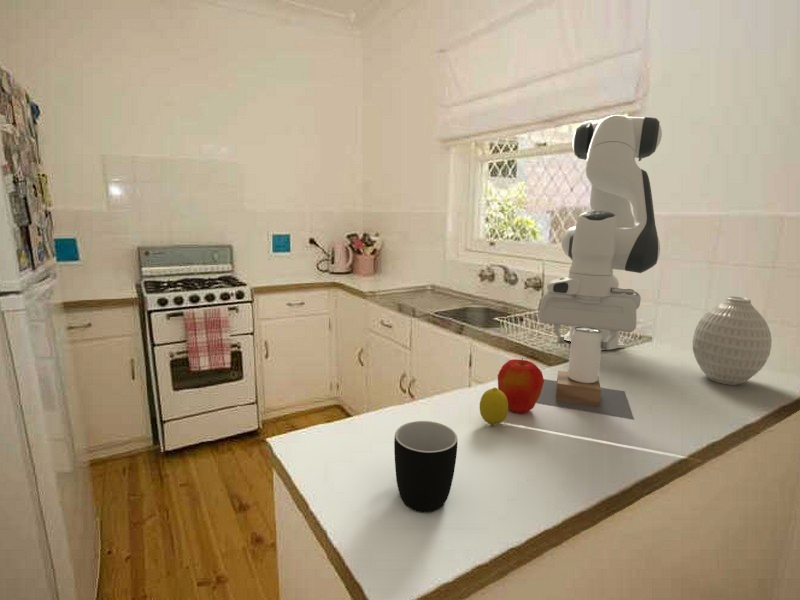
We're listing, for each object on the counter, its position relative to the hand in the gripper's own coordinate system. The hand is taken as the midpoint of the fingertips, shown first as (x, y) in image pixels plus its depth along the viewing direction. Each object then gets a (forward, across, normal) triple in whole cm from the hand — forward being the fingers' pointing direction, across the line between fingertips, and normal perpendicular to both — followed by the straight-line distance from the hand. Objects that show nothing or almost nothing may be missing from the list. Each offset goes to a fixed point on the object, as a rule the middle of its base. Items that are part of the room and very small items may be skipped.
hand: (582, 345), depth 99 cm
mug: (+13, +23, +48) cm, 55 cm away
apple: (+13, +12, +13) cm, 22 cm away
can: (+8, -1, -1) cm, 8 cm away
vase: (+13, -37, -29) cm, 49 cm away
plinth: (+12, 0, 0) cm, 12 cm away
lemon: (+13, +16, +22) cm, 30 cm away
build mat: (+13, 0, 0) cm, 13 cm away
